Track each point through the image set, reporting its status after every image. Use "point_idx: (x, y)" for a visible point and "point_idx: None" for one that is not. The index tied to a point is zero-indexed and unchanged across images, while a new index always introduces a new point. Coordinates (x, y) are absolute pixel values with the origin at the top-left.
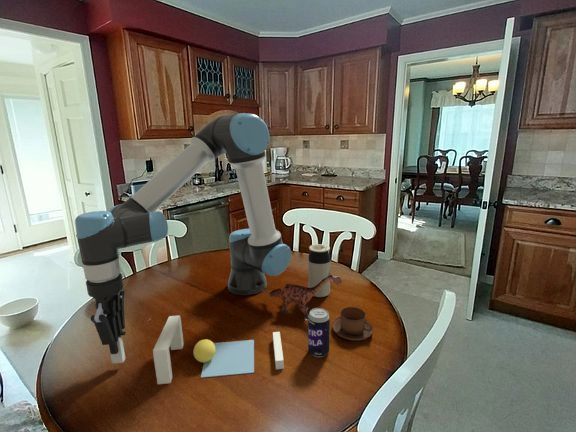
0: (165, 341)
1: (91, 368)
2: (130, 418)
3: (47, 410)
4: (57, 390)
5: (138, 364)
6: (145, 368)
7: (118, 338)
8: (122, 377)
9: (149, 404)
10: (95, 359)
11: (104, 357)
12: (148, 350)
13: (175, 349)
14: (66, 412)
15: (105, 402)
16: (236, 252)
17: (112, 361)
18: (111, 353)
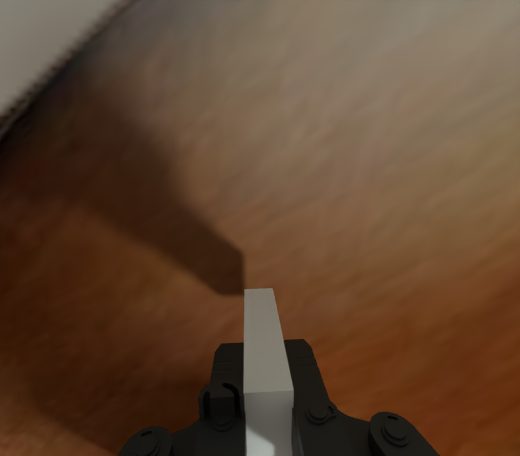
0: None
1: (265, 172)
2: (12, 421)
3: (12, 111)
4: (128, 83)
5: None
6: None
7: (270, 448)
8: (196, 327)
9: (70, 451)
10: (329, 159)
11: (336, 197)
12: (348, 362)
13: None
14: (11, 202)
15: (70, 321)
16: None
17: (244, 297)
18: (218, 352)
